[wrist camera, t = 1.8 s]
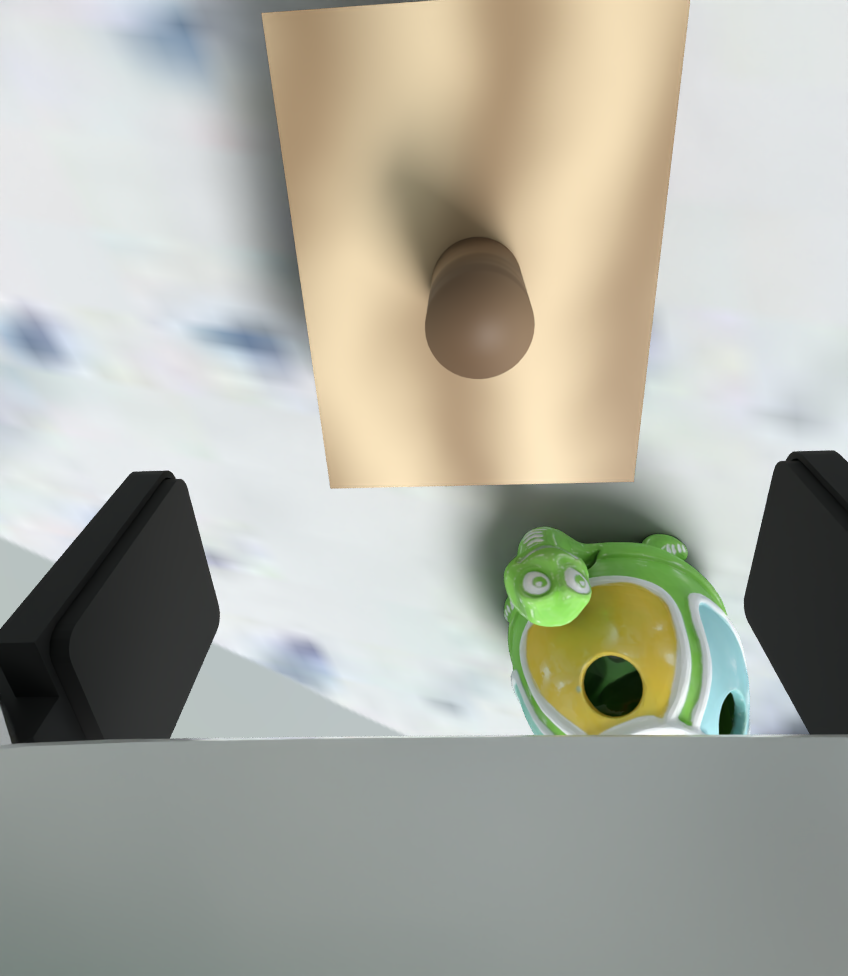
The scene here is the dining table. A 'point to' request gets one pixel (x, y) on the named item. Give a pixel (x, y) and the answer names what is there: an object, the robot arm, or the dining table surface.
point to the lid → (478, 229)
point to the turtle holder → (621, 640)
